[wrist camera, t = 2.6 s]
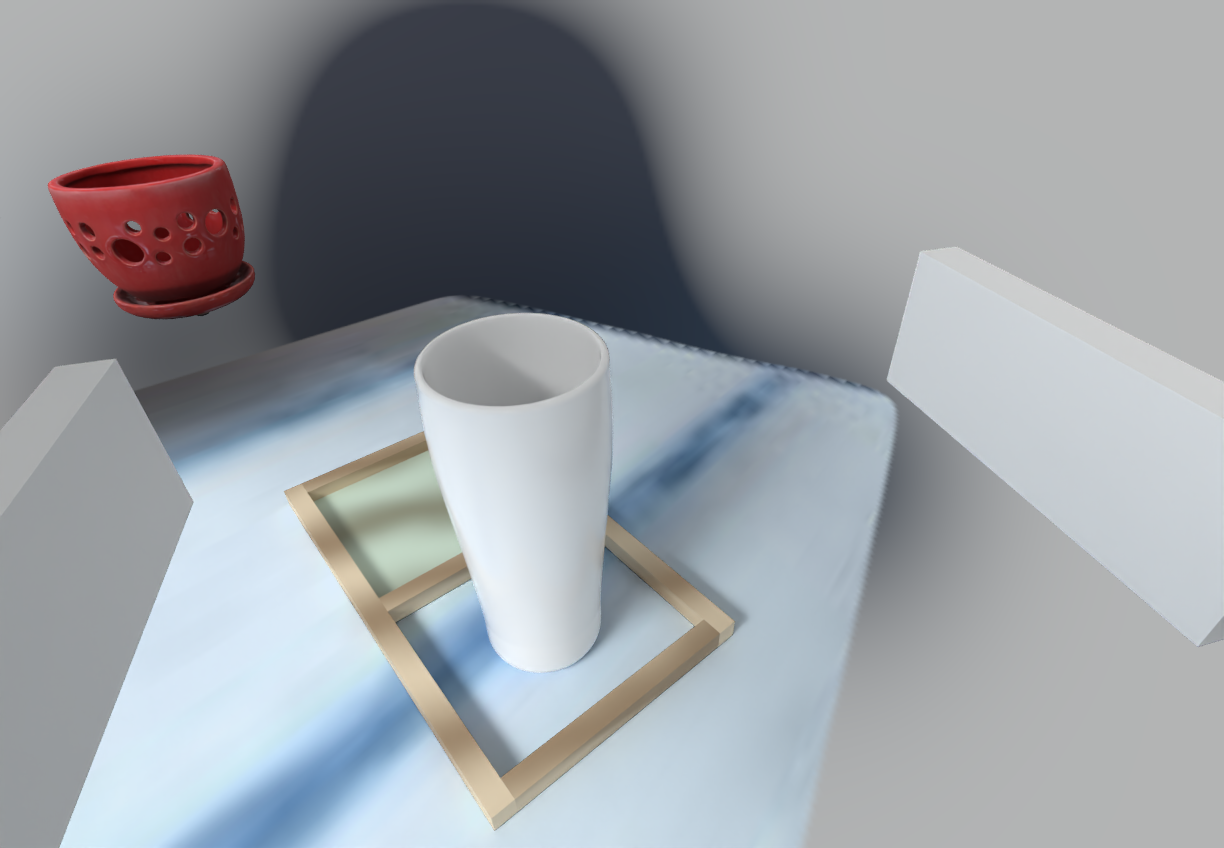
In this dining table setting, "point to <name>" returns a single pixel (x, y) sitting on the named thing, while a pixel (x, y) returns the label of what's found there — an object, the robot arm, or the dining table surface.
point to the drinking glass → (525, 474)
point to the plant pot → (159, 232)
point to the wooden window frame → (434, 564)
